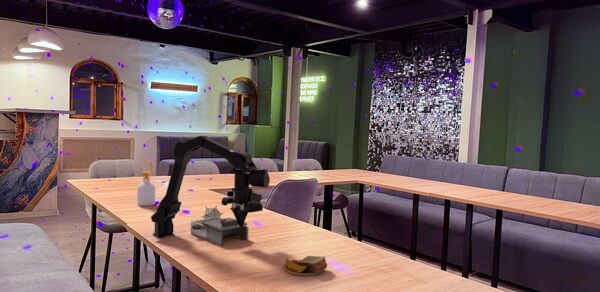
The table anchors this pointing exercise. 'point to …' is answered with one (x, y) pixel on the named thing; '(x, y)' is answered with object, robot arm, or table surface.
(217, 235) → the grey rectangular box
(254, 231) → the table surface
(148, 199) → the soap bottle
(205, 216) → the game die
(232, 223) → the lid
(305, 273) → the toy sandwich meal
